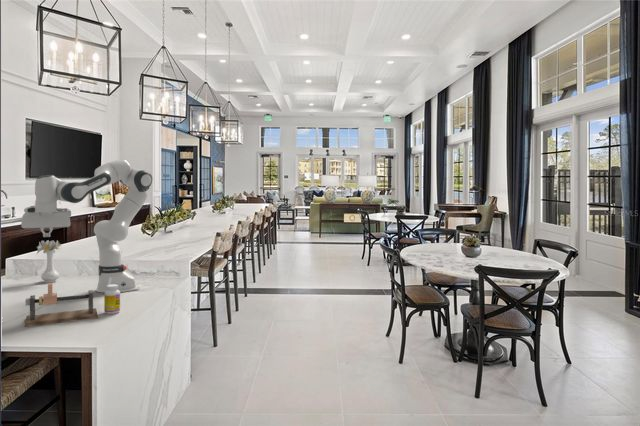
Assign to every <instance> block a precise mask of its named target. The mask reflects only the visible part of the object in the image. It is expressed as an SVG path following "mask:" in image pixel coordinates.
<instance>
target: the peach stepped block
mask: <svg viewBox="0 0 640 426" xmlns="http://www.w3.org/2000/svg"><path fill="white" fill-rule="evenodd" d="M57 297H58V293H57V292H53V282H51V283H47V293H43V305H42V306H47V305H48V306H49V305H57V304H58V301H57Z"/></svg>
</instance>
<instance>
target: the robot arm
mask: <svg viewBox="0 0 640 426" xmlns="http://www.w3.org/2000/svg"><path fill="white" fill-rule="evenodd" d="M117 182H120V183H121V184H122V185H124V186H126V187H128V191H127V193H126V194H125V195H124V196H123V197H122V198H121V200H120V201H119V203H118V204H117V205H116V206H115V207H114V212H113V215H112V217H111V218H110V219H109V220H107V219H106V220H103V219H102V220H100V221H98V222H97V223H95V225H94V226H93V233H94V235H95V237H96V242H97V247H98V252H99V253H98V255H99V261H98V262H99V264H98V270H97V271H98V281H97V285H96V290H95V291H96V292H98V293H104V294H105V292H106V291H107V285H111V284H116V285H118V288H117V290H119V291H120V293H127V292H133V291H139V290H140V289H141V286H140V284H138V283H137V281H136V278H135V277H134V275H132V274H131V273H129V272H128V271H126V270H127V269H128V267H127V265H124V264H122V250H121V247H120V245H119V242H122V241H124V240H125V239H126V238H127V237H128V234H129V227H130V226H131V222H132V221H133V219H134V218H135V216H136V215H137V213H138V212H139V211H140V210H141V208H142V207H143V205H144V204H145V202H146V201H147V198H148V196H149V195H148V191H149V189H150V187H151V185H152V183H153V175H152V174H151V173H150V172H149V171H147V170H143V169H140V168H137V167H136V168H134V167H132V166H131V164H130V163H129V161H127V160H126V159H117V160H114V161H110V162H107V163H104V164H102V165H99V166H98V167H97V168H95V170H94V176H92V177H90V178H88V179H85V180H83V181H81V182H79V181H77V182H73V181H72V182H67V181H65V180H63V179H60V178H58V177H56V176H55V175H53V174H47V175H45V174H44V175H40V176H37V177H36V179H35V183H34V185H35V186H34V195H35V201H34V205H30V206H27V207H25V208H24V210H23V211H24V213H23V214H22V217H21V223H20V225H21V226H20V227H21V228H23V229H40V232H41V233H42V237H43V238H50V237H51V233H52V232H53V230H54V228H69V227H70V226H71V216H72V211H71V209H68V208H66V207H65V208H58V201H59V202H66V203H67V202H68V203H70V204H71V203H72V204H77V203H81V202H82V201H83V200H85V198H86V197H88V195H89V194H90V193H93V192H95V191H96V190H99V189H102V188H103V187H106V186H109V185H113V184H115V183H117ZM45 228H49V231H48V232H45V231H44V230H45Z"/></svg>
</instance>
